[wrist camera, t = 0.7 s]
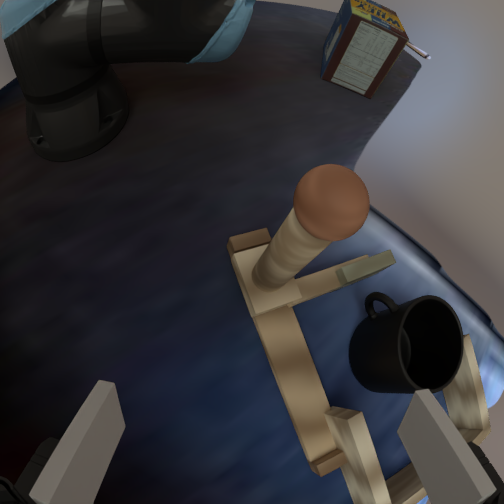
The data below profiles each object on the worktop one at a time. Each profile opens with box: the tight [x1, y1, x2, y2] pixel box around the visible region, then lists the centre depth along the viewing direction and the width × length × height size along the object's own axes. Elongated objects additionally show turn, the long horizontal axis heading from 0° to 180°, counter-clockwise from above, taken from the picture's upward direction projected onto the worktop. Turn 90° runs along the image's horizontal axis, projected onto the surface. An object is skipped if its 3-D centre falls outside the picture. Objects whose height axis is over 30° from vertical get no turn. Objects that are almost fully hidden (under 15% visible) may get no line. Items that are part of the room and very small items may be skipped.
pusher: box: [231, 164, 396, 317], centre depth 25 cm, size 6×16×19 cm, turn 110°
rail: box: [227, 228, 347, 477], centre depth 29 cm, size 26×4×2 cm, turn 20°
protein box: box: [321, 0, 409, 99], centre depth 44 cm, size 10×15×16 cm
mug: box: [349, 292, 464, 394], centre depth 28 cm, size 9×12×9 cm
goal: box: [324, 334, 491, 504], centre depth 26 cm, size 15×19×6 cm
